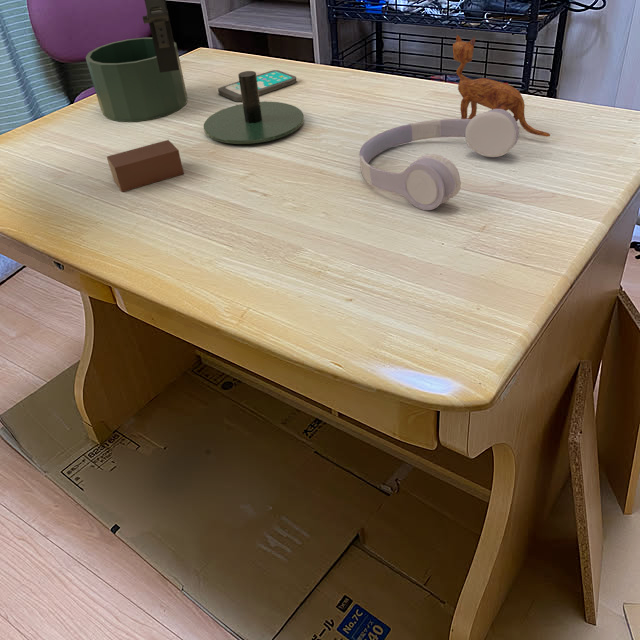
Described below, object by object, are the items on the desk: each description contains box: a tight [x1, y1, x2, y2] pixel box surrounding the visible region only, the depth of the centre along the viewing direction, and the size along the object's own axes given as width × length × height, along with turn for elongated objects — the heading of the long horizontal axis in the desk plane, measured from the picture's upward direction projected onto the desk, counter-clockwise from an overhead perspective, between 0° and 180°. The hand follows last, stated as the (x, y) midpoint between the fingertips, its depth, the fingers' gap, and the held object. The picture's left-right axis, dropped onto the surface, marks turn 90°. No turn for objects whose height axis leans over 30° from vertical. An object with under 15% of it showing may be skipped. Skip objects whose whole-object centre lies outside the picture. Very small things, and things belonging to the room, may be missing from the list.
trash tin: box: [85, 37, 188, 123], centre depth 120 cm, size 17×17×10 cm
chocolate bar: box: [106, 139, 184, 193], centre depth 97 cm, size 10×5×4 cm, turn 119°
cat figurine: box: [452, 34, 551, 138], centre depth 98 cm, size 18×7×14 cm, turn 50°
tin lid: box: [203, 70, 305, 145], centre depth 108 cm, size 18×18×9 cm
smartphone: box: [217, 69, 298, 102], centre depth 126 cm, size 9×1×15 cm
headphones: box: [358, 109, 520, 211], centre depth 92 cm, size 22×7×20 cm
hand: (167, 57), depth 93 cm, fingers open, 13 cm apart
